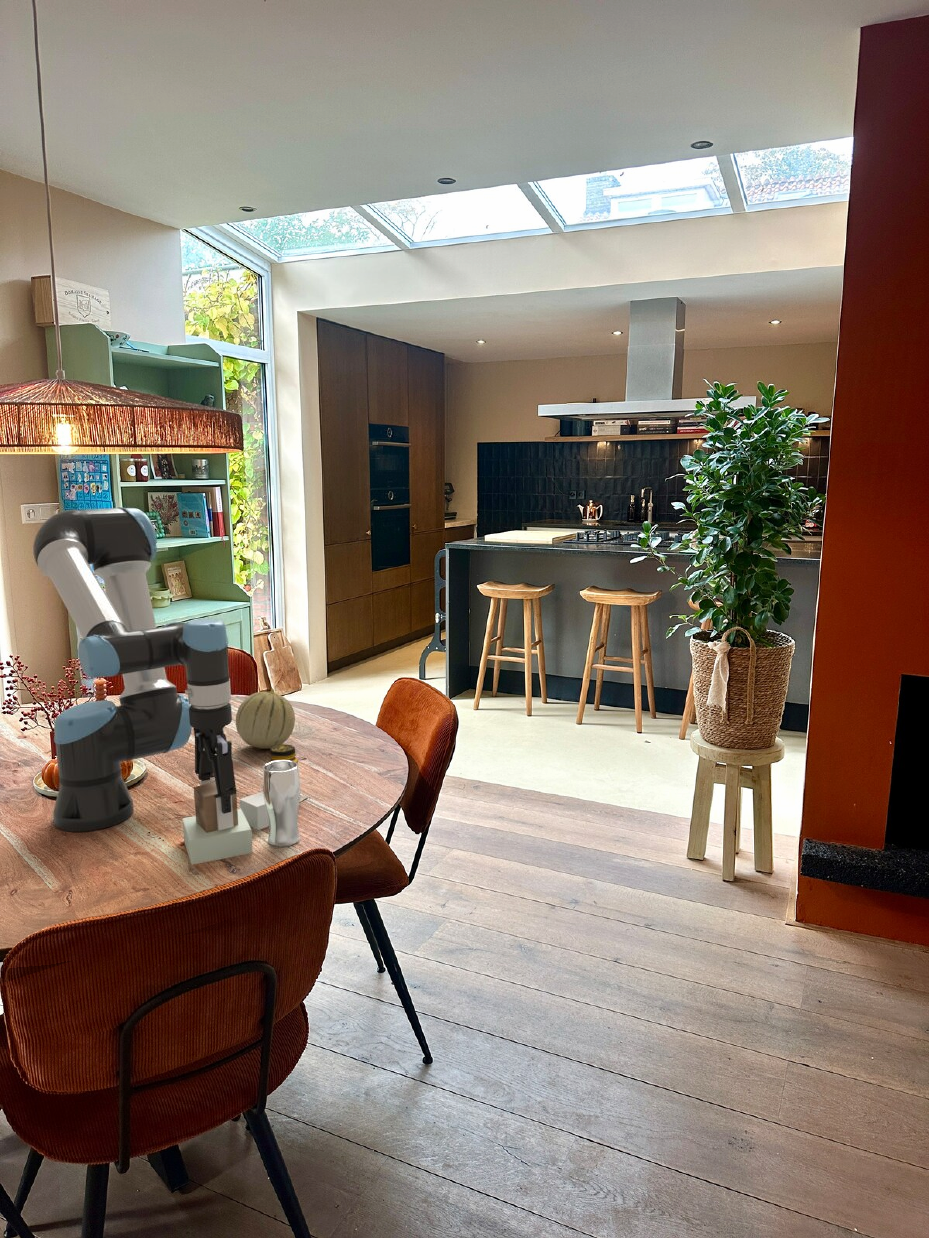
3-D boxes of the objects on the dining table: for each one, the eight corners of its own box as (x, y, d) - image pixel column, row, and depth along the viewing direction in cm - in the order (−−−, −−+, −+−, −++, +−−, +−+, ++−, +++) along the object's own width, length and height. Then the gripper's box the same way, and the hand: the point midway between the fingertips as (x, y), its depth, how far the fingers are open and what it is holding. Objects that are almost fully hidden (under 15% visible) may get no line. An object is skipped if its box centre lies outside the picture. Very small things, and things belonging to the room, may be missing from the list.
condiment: (286, 809, 177) (283, 755, 175) (256, 802, 181) (253, 748, 179) (309, 797, 183) (306, 744, 181) (279, 790, 187) (276, 739, 185)
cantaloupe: (226, 754, 211) (222, 696, 208) (254, 736, 225) (251, 682, 222) (280, 758, 208) (277, 700, 205) (305, 740, 222) (303, 685, 219)
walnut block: (196, 822, 160) (193, 787, 158) (226, 814, 163) (224, 779, 162) (206, 832, 155) (204, 796, 154) (238, 824, 158) (236, 789, 157)
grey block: (240, 822, 171) (239, 799, 170) (265, 813, 175) (264, 790, 174) (258, 830, 167) (257, 806, 166) (283, 821, 171) (282, 797, 170)
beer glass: (305, 831, 166) (301, 759, 163) (299, 847, 159) (295, 771, 156) (269, 832, 165) (265, 759, 163) (262, 848, 159) (258, 772, 156)
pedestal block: (184, 842, 162) (182, 818, 162) (242, 831, 167) (240, 808, 166) (191, 866, 153) (189, 840, 152) (252, 854, 157) (251, 829, 156)
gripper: (171, 695, 161) (180, 807, 165) (209, 720, 144) (217, 844, 148) (210, 688, 165) (217, 798, 169) (250, 713, 149) (257, 833, 153)
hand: (217, 819), depth 159 cm, fingers open, 8 cm apart
